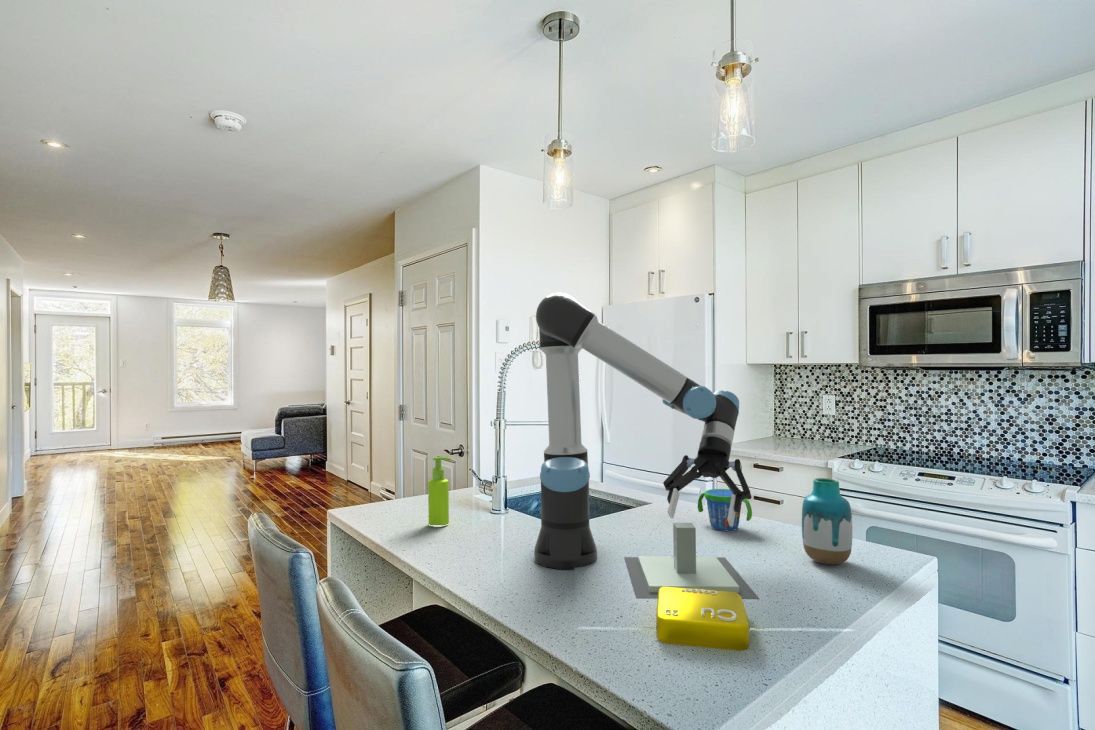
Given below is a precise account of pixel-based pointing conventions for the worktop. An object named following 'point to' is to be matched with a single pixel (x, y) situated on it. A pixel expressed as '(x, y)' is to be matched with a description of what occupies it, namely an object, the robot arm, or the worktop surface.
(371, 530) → the worktop surface
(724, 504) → the snack cup
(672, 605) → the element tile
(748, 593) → the rubber mat
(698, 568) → the sage lid
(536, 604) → the worktop surface
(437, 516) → the soap dispenser
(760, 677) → the worktop surface
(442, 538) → the worktop surface
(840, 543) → the vase
